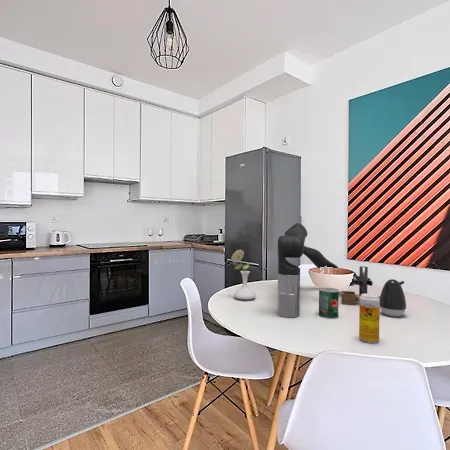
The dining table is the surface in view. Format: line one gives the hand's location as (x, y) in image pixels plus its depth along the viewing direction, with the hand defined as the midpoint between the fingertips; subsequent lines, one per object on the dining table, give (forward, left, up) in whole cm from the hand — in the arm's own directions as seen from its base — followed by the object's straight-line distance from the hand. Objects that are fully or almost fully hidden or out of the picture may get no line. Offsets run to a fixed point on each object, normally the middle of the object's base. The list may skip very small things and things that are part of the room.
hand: (367, 283), depth 147 cm
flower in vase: (-8, +58, -11) cm, 59 cm away
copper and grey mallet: (+2, +1, -11) cm, 11 cm away
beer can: (-47, +4, -11) cm, 48 cm away
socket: (+2, +8, -11) cm, 13 cm away
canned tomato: (-23, +17, -11) cm, 30 cm away
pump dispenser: (-12, -9, -11) cm, 18 cm away
